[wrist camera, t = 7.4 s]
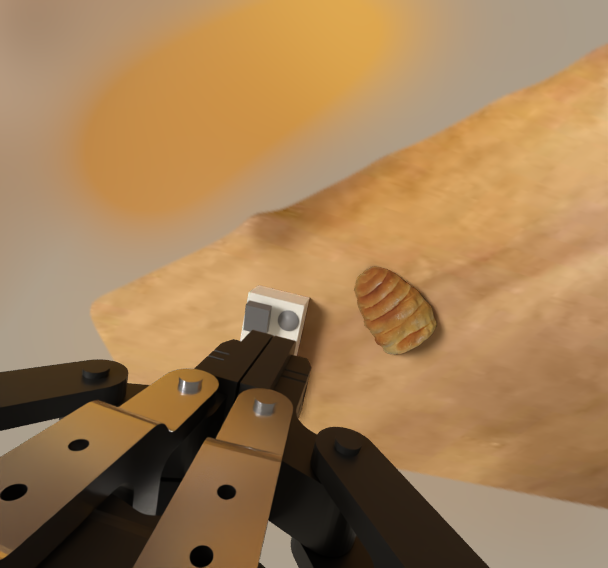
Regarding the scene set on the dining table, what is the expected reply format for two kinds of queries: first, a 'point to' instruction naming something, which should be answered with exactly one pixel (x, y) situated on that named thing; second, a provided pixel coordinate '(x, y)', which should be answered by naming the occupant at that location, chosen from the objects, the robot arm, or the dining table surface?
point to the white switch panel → (281, 312)
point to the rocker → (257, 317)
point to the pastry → (393, 310)
